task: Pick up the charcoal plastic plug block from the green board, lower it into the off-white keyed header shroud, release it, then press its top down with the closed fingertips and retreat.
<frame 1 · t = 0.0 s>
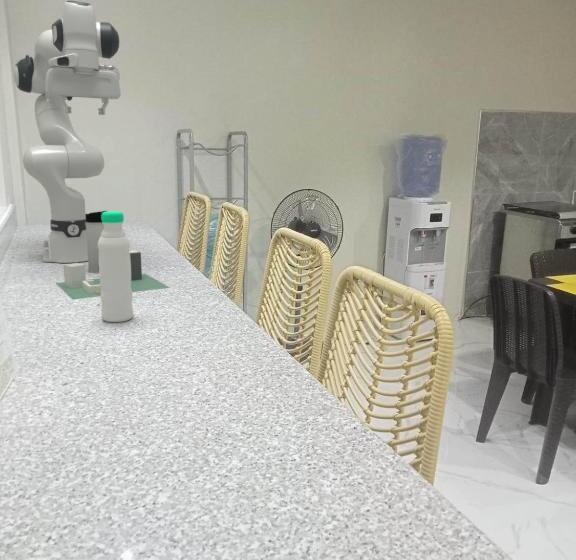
hand: (85, 114, 163), 48 cm above the bar counter, fingers open, 8 cm apart
travel mug: (100, 275, 177), on the bar counter
board: (112, 289, 159), on the bar counter
water bottle: (117, 319, 133), on the bar counter
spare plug: (75, 285, 158), point 1 cm above the bar counter, touching board
plug: (131, 279, 167), point 1 cm above the bar counter, touching board
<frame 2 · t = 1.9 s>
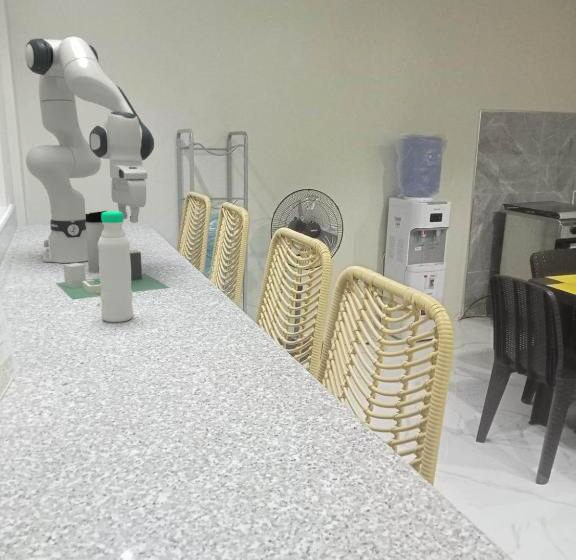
hand: (128, 220, 163), 18 cm above the bar counter, fingers open, 8 cm apart
nothing on the bar counter moved.
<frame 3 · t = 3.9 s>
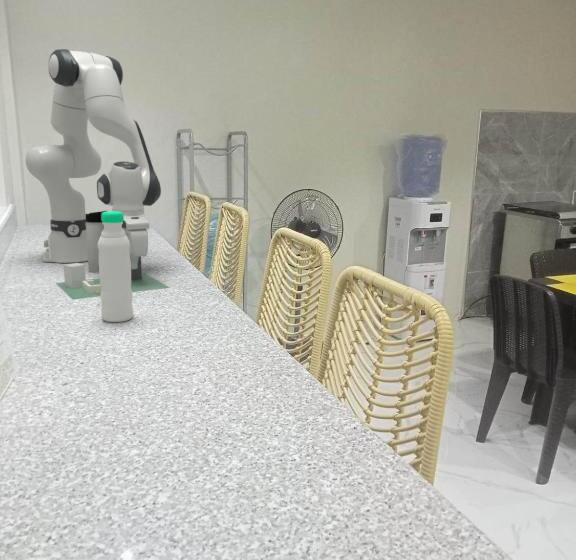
hand: (130, 266, 166), 5 cm above the bar counter, fingers closed on plug, 4 cm apart
plug: (131, 279, 167), point 1 cm above the bar counter, touching board, gripper
everything else where it was.
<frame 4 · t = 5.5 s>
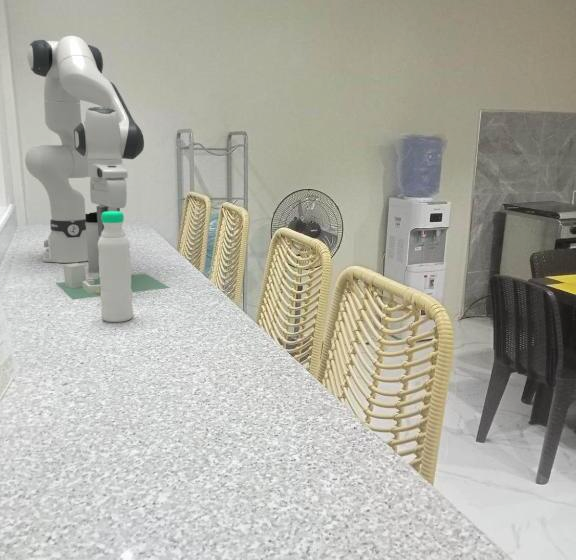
hand: (108, 222, 154), 19 cm above the bar counter, fingers closed on plug, 4 cm apart
plug: (109, 235, 155), point 15 cm above the bar counter, touching gripper
everything else where it was.
when the fingers open (6 cm above the bar counter, at t = 7.6 s): plug stays where it is, resting on board.
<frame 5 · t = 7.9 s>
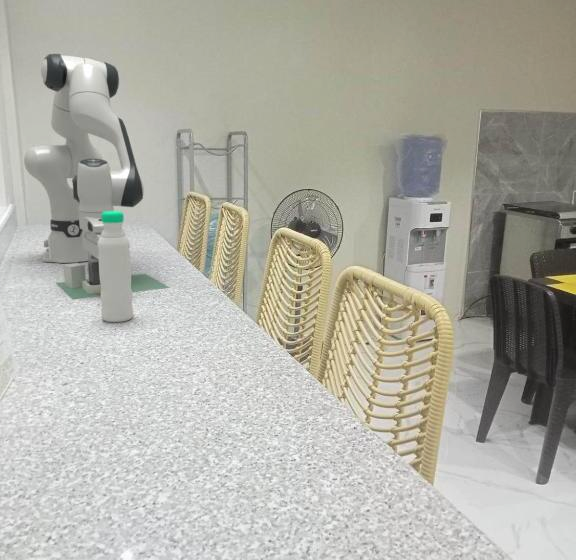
hand: (99, 272, 154), 6 cm above the bar counter, fingers open, 7 cm apart
plug: (101, 289, 155), point 1 cm above the bar counter, touching board
everything else where it was.
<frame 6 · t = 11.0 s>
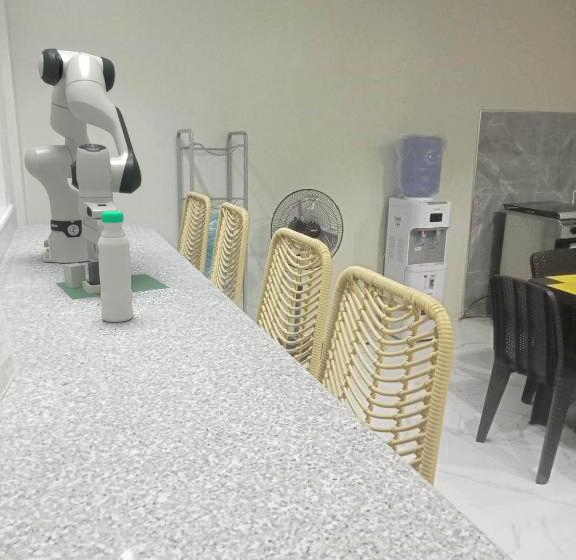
hand: (99, 259, 153), 10 cm above the bar counter, fingers closed
nothing on the bar counter moved.
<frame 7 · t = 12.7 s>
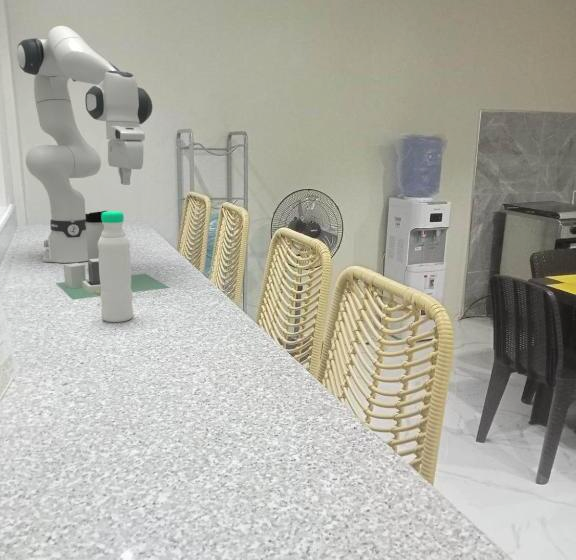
hand: (125, 184, 158), 29 cm above the bar counter, fingers closed
nothing on the bar counter moved.
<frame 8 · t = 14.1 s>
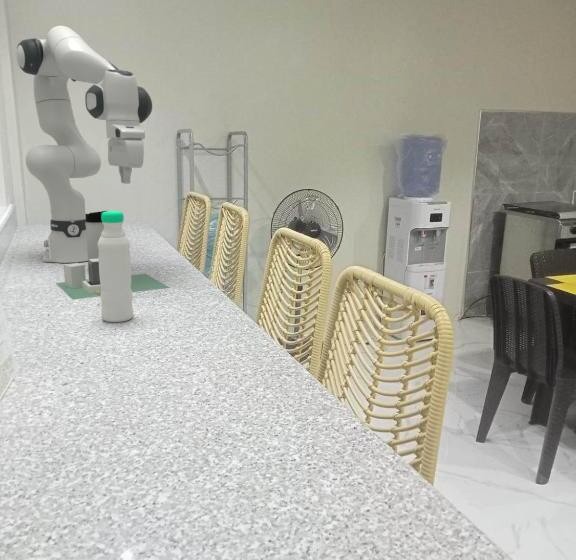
hand: (125, 183, 158), 29 cm above the bar counter, fingers closed
nothing on the bar counter moved.
at the end: plug 0.1 cm from the target spot on the board, point 1.2 cm above the board's base; plug tilted 0°; the gripper is holding nothing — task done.
